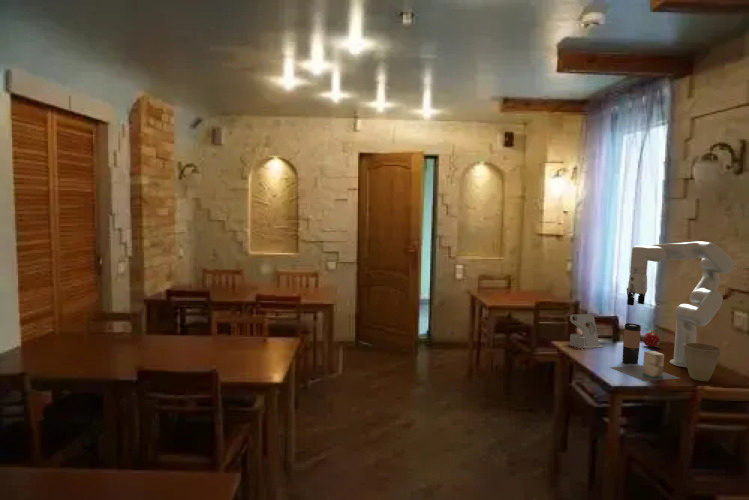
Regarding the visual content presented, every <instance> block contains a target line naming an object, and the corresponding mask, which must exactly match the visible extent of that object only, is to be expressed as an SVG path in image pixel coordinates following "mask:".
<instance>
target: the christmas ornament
mask: <svg viewBox="0 0 749 500" xmlns="http://www.w3.org/2000/svg"><path fill="white" fill-rule="evenodd" d="M642 339H643V341H642V342H643V343H644V345H646V347H649V348H656V347H658V345H659V344H660V342H661V341H660V336H659V335H658V334H657V333H655V332H654V330H653V329H652V330H651V331H650V332H647V333H645V334H644V335H643V338H642Z"/></svg>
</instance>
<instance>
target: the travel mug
mask: <svg viewBox="0 0 749 500" xmlns="http://www.w3.org/2000/svg"><path fill="white" fill-rule="evenodd" d="M641 329H642V325H641V324H637V323H630V322H629V323H627V322H626V323H625V324H624V330H623V341H622V342H623V344H622V345H623V346H622V363H623V364H625V365H631V364H632V365H635V364H636V365H637V364H638V363H639V355H640V354H639V353H640V343H641V332H642V331H641Z"/></svg>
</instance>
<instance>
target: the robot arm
mask: <svg viewBox="0 0 749 500" xmlns="http://www.w3.org/2000/svg"><path fill="white" fill-rule="evenodd" d="M630 259H631V260H630V268H629V269H630V271H629V273H630V274H629V278H628V286H627V288H626V294H627V295H626V296H627V302H626V305H628V306H634V305H635V295H638V297H637V304H639V305H645V299H646V294H647V292H648V273H647V272H648V263H649V262H654V263H658V262H659V263H660V262H662V261H664V260H675V261H680V260H690V259H691V260H693V259H701V260H700V267H701V271H702V277H701V279H700V280H699V281H698V283H697V284H696V286H695V287H694V289H693V290H692V291H691V293H690V295H689V302H690V304H689V303H681V304H679V305H678V306H677V307H676V308H675V312H674V317H675V335H674V346H673V347H674V350H673V358H672V359H670V360H669V363H670V365H673V366H676V367H681V368H687V364H686V359H685V350H684V344H685V343H697V334H698V331H697V330H698V329H697V327H704V326H706V325H708V324H709V323H710V322H711V320H712V319H713V318H714V316H715V315H716V314H717V312H719V310H720V309H721V307H722V305H723V300H724V299H723V295H722V293H721V292H720V291H718V290H717V289H718V288H719V286H720V283H721V280H720V274H728V273H730V272H732V271H733V270H734V267H735V263H734V260H733V258H731V256H730V255H728V253H726V252H725V251H724V250H723V249H722V248H721V247H720V246H719V245H717V244H715V243H714V242H708V241H690V242H689V241H688V242H675V243H661V244H660V243H659V244H647V245H642V246H640V245H635V246H633V247H632V249H631V257H630Z"/></svg>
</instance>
